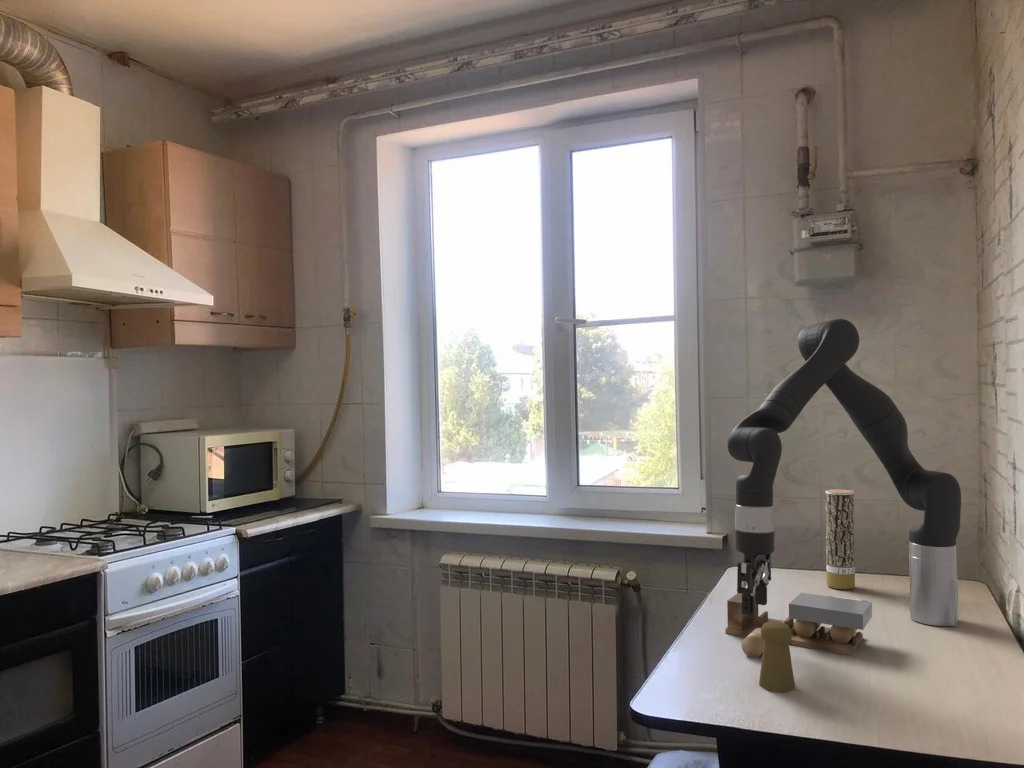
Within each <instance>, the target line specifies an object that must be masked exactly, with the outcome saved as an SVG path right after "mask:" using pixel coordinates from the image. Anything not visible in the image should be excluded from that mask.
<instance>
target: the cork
mask: <svg viewBox="0 0 1024 768" xmlns="http://www.w3.org/2000/svg"><path fill="white" fill-rule="evenodd" d="M761 636H762V639H763V640H764V647H763V653H762V654H761V656H762V658H761V665H760V673H759V679H758V680H759V683H758V685H759V687H761V688H762V689H764V690H766V691H770V692H773V693H789V692H793V691H794V690H796V684H795V677H794V670H793V664H792V663H793V662H792V656H791V651H790V644H789V642H790V641H791V638H792V631H791V629H790V627H789V626H788V625H787V624H785V623H782V622H776V621H770V622H766V623H764V624H763V626H762V627H761Z"/></svg>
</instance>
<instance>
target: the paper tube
mask: <svg viewBox="0 0 1024 768" xmlns="http://www.w3.org/2000/svg"><path fill="white" fill-rule="evenodd" d="M824 491H825V493H824V495H825V497H824V498H825V500H824V501H825V550H826V551H825V552H826V553H825V556H826V557H825V560H826V561H825V565H826V585H827V586H828V587H829V588H832V589H835V590H844V591H846V590H848V591H849V590H852V589H854V588H855V587H856V565H855V564H856V563H855V562H856V559H855V558H856V555H855V552H856V551H855V550H856V549H855V545H856V544H855V500H854V499H855V498H854V497H855V493H854V490H850V489H837V488H836V489H834V488H833V489H825V490H824Z"/></svg>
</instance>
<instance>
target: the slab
mask: <svg viewBox="0 0 1024 768" xmlns="http://www.w3.org/2000/svg"><path fill="white" fill-rule="evenodd" d="M830 596H831V595H822V594H815V593H814V594H813V593H806V592H800V593H799V594H798V595H797V596H795V598H793V599H792V600H791V601H790V602H789V603H788V617H789V618H790V619H794V620H795V621H796V620H803V621H809V622H815V623H821V625H822V624H823V625H829V626H833V625H835V626H841V627H847V628H854V629H857V630H862V631H864V629H865V628H866V627H867V625H868V623H870V620H871V619H872V618H873V602H872V601H868V600H864V601H859V600H860V599H856V600H852V599H853V598H848V599H845V598H846V597H840V598H837V596H832V597H830Z"/></svg>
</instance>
